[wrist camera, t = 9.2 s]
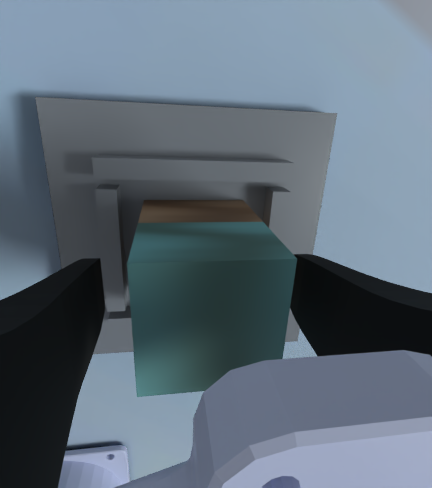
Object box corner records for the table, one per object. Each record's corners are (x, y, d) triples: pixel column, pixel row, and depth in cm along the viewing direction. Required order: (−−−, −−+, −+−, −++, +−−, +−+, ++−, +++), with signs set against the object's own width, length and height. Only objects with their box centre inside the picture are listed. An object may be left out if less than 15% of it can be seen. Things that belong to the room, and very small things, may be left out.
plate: (80, 342, 17) (69, 369, 15) (45, 98, 12) (23, 95, 11) (290, 330, 19) (304, 353, 17) (326, 113, 14) (349, 113, 12)
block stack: (148, 288, 15) (136, 397, 9) (144, 199, 14) (127, 263, 8) (236, 285, 16) (278, 384, 10) (243, 200, 14) (297, 258, 8)
